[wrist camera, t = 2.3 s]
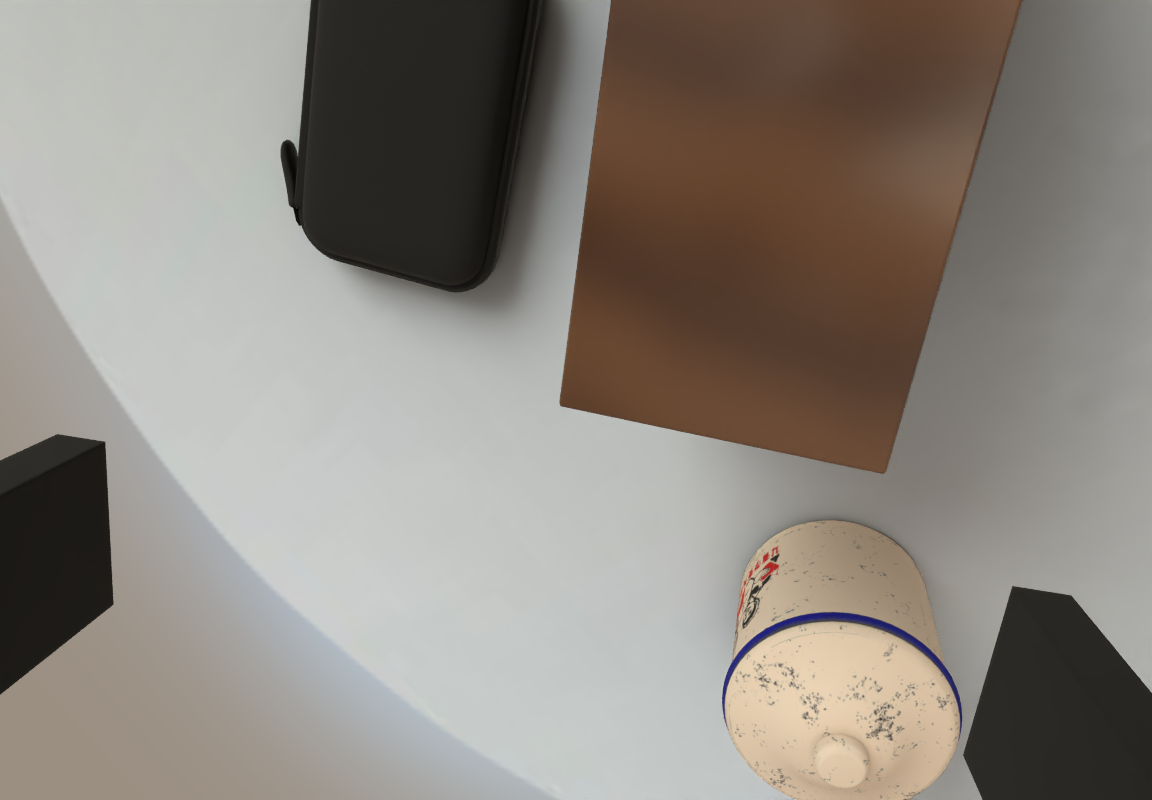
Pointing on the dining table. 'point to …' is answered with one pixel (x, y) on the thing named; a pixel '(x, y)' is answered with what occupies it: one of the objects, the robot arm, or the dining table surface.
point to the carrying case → (411, 133)
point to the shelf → (776, 213)
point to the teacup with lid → (839, 668)
